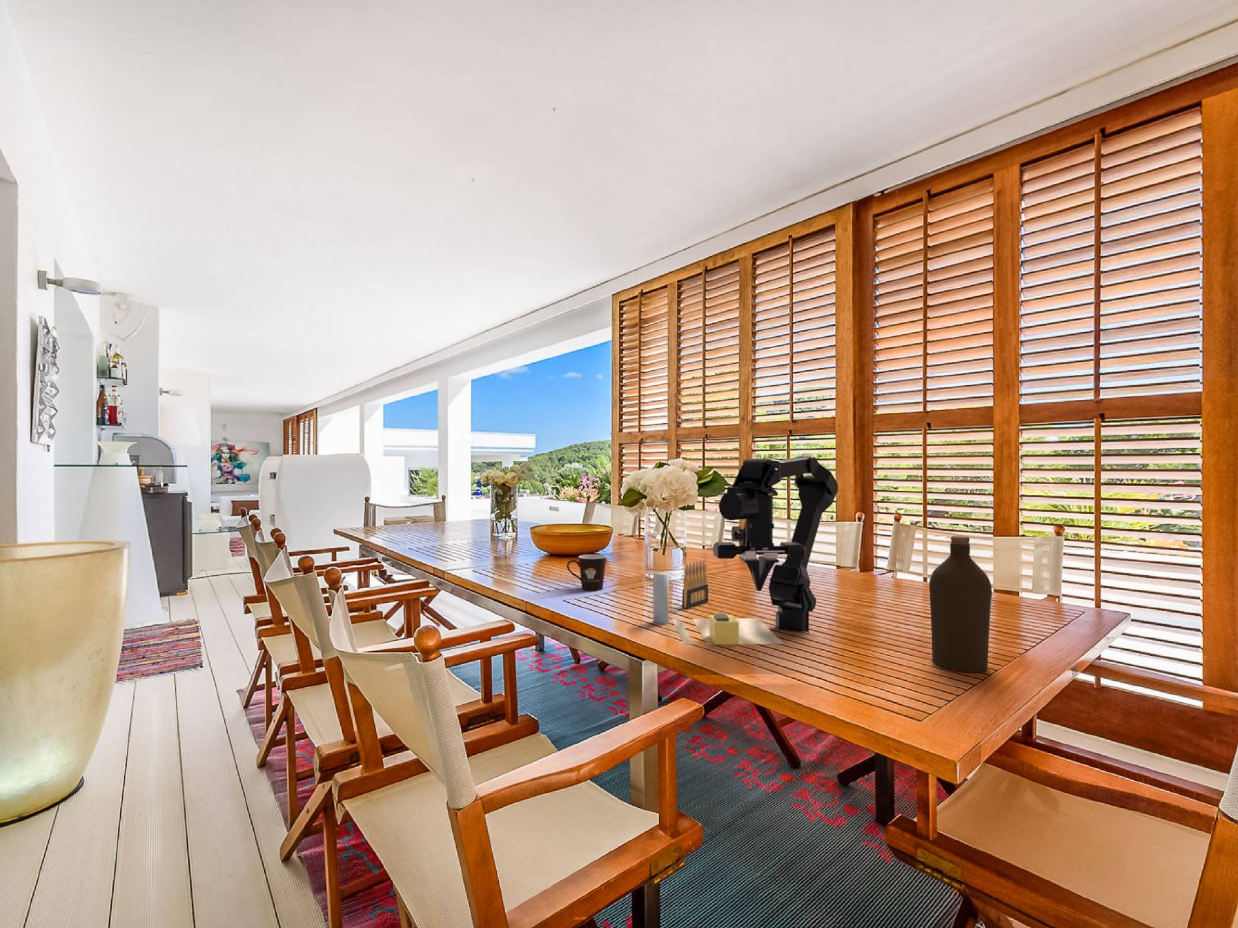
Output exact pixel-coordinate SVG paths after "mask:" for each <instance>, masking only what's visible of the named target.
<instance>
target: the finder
mask: <svg viewBox="0 0 1238 928" xmlns="http://www.w3.org/2000/svg"><path fill="white" fill-rule="evenodd" d="M709 619H710V622H709V636H710V637H711V639H712V641H713V642H714V644H713V645H740V644H739V622H738V621H737V620H736V619H737V618H735V616H733V614H726V613H714V614H709Z"/></svg>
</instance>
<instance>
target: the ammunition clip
mask: <svg viewBox="0 0 1238 928" xmlns="http://www.w3.org/2000/svg"><path fill="white" fill-rule="evenodd" d="M705 560H706V559H703V561H702V560H699V562H698V561H696V562H692V563H691V562H690V563H689V565H688V563H686V564H685V567H684V576H683V588H682V596H681V597H682V601H681V602H682V603H681V604H682V605H681V607H682V609H685V608H686V609H685V610H690V609H693V608H695V607H698V605H699V606H701V605H704V604H707V603H709V584H708V574H707V562H706V561H705ZM692 607H693V608H692Z"/></svg>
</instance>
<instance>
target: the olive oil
mask: <svg viewBox="0 0 1238 928" xmlns="http://www.w3.org/2000/svg"><path fill="white" fill-rule="evenodd" d="M928 582H929V583H928V586H929V587H928V588H929V592H928V593H929V606H930V625H931V627H930V629H931V630H930V631H931V658H932V662H933V663H934V664H936V665H937V666H940V667H941V668H944V669H947V670H951V671H956V672H962V673H982V672H985V671H987V670H988V665H989V645H990V643H989V642H990V627H991V626H990V625H991V610H992V600H993V599H992V595H993V587H992V583H991V580H990V578H989V576H988V575H987V573H986V572H985V571H984V570H983V569H982V568H981V567H980V566H979V565H978V564H977V563H976V561H974V560H973V559H972V557H971V544H970V537H969V536H963V535H962V536H961V535H952V536H951V537H950V544H949V556H948V557H947V558H946V559H945V560H944V561H942V562H941V563H940V564H939V565H938V566H937V567H936V568H935V569H934V570H933V572H932V573H931V575H930V578H929V581H928Z"/></svg>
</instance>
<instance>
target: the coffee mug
mask: <svg viewBox="0 0 1238 928" xmlns="http://www.w3.org/2000/svg"><path fill="white" fill-rule="evenodd" d="M606 562H607V556H606V555H603V554H582V555H579V556H578V561H577V560H575V559H572V560H569V561H567V565H566V569H567V570H568V572H569V573H570V574H571V575H573V576H574V577H576V578H577V579H578V580H579V581H580V582H581V589H583V590H582V591H585V590H587V591H586V592H597V591H598V590H599V591H602V590H603V588H604V579H605V570H606ZM571 563H576V564H577V566H578V567H579V572H580V573H579V574H580V576H579V575H577V574H576V573H575V572H573V571H572V570H571V569H570V564H571ZM599 591H598V592H599Z"/></svg>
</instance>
